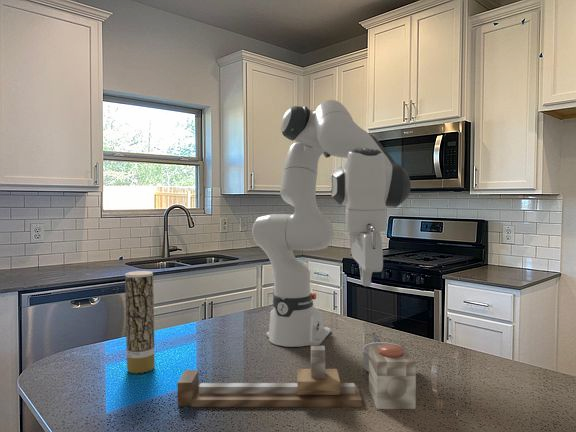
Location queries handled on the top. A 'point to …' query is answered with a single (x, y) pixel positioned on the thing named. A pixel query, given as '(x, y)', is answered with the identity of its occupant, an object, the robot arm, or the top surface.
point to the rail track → (382, 384)
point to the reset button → (391, 350)
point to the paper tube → (139, 321)
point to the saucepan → (366, 350)
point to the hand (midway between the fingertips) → (365, 284)
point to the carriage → (318, 376)
